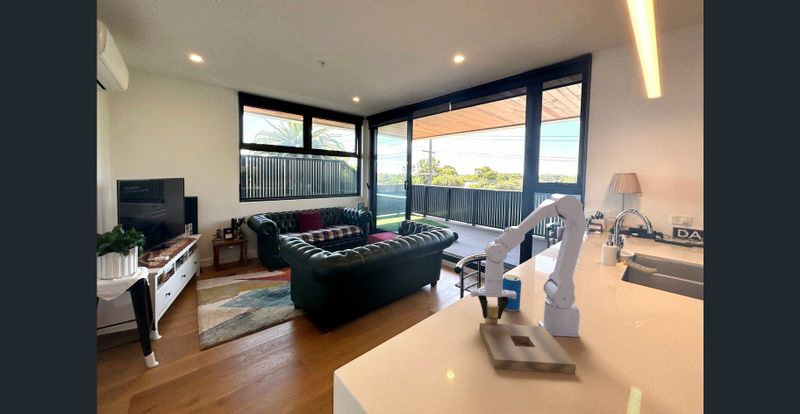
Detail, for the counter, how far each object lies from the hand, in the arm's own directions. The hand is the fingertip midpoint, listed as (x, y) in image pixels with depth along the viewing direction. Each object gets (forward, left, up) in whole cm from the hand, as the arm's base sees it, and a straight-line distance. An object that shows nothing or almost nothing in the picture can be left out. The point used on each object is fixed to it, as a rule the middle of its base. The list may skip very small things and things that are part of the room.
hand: (491, 317), depth 94 cm
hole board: (-5, +14, -2) cm, 15 cm away
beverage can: (-10, -12, -2) cm, 16 cm away
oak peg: (0, 0, -2) cm, 2 cm away
